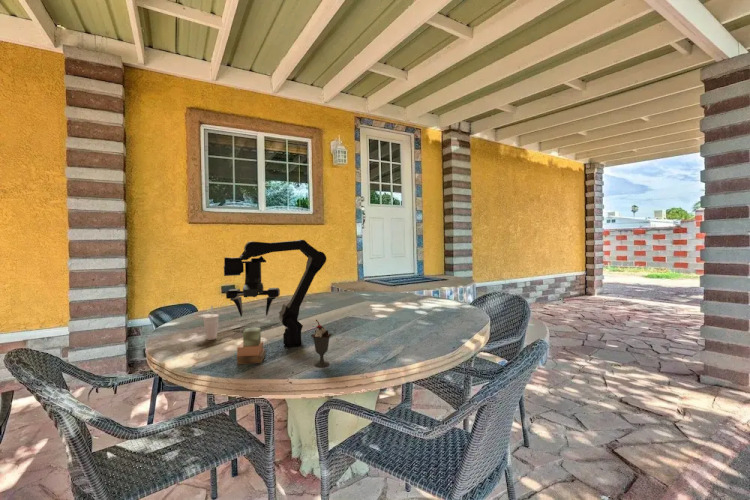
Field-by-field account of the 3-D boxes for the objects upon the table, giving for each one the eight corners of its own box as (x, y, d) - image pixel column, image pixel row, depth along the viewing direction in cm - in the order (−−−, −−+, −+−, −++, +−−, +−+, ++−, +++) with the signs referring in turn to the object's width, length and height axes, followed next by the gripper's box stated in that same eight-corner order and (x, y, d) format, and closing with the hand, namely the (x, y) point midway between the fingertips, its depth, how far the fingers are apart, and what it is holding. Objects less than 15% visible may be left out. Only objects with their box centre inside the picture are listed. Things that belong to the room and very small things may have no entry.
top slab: (263, 349, 132) (263, 340, 132) (258, 355, 125) (258, 346, 125) (243, 349, 131) (243, 341, 131) (237, 356, 124) (237, 347, 124)
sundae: (312, 361, 125) (311, 318, 124) (332, 361, 126) (331, 317, 125) (310, 368, 119) (309, 323, 118) (331, 367, 119) (330, 322, 118)
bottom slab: (265, 356, 133) (264, 348, 132) (261, 364, 125) (261, 355, 125) (242, 358, 131) (241, 349, 131) (237, 365, 124) (236, 357, 123)
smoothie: (213, 340, 151) (212, 307, 150) (199, 340, 152) (198, 306, 152) (223, 336, 157) (222, 304, 157) (209, 336, 159) (208, 304, 158)
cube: (260, 341, 131) (260, 327, 131) (258, 345, 126) (258, 331, 126) (246, 342, 130) (245, 328, 130) (243, 346, 125) (243, 331, 125)
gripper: (221, 277, 129) (222, 321, 129) (276, 276, 131) (277, 319, 132) (229, 274, 140) (230, 314, 140) (279, 273, 142) (280, 312, 143)
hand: (254, 315), depth 139 cm, fingers open, 9 cm apart
